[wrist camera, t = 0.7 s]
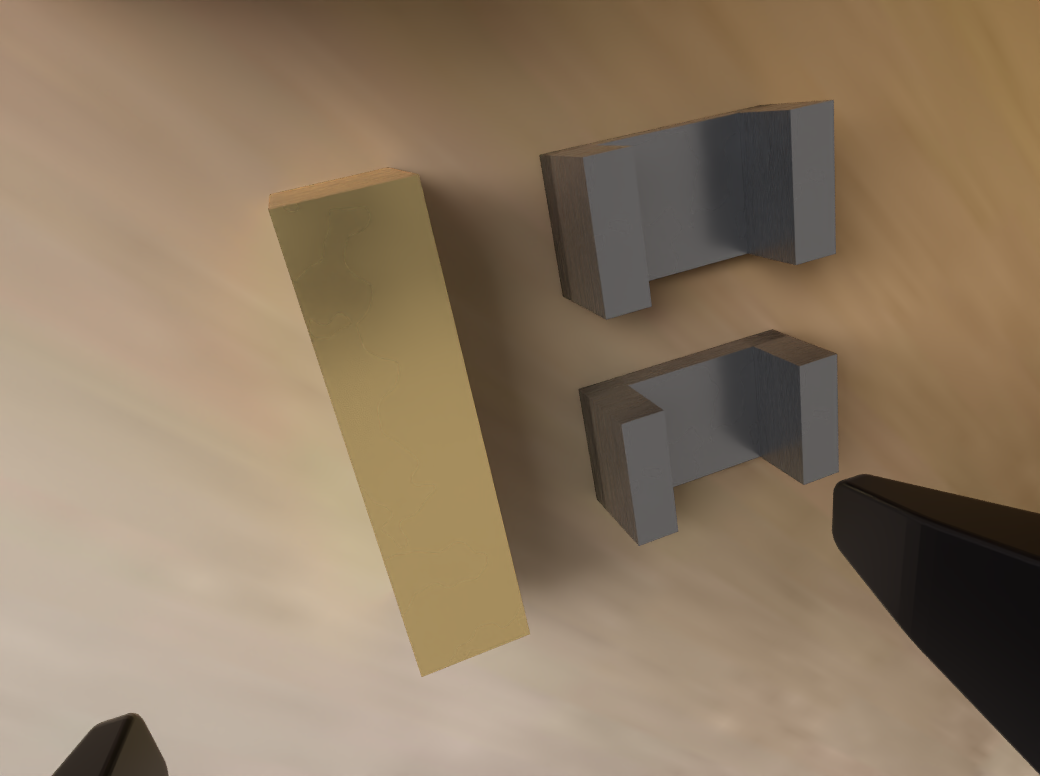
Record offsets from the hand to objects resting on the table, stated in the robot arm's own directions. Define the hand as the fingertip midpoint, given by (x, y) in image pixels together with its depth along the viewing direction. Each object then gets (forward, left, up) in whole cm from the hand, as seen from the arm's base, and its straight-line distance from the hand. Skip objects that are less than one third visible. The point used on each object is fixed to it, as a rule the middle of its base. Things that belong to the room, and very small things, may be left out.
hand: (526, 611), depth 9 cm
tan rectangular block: (-1, 0, -12) cm, 12 cm away
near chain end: (+2, -9, -12) cm, 15 cm away
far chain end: (-5, -9, -12) cm, 16 cm away
